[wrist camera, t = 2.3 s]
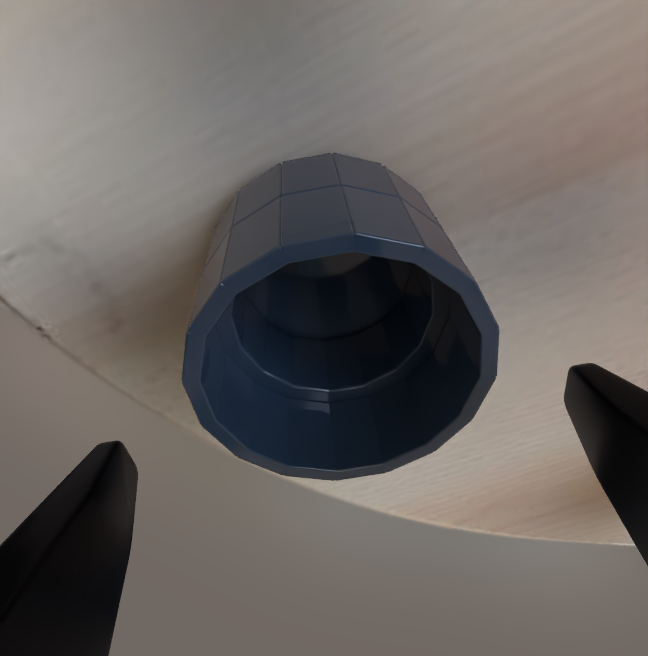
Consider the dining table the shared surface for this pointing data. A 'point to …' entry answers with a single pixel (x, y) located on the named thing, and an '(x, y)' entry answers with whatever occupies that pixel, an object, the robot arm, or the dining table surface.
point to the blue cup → (335, 324)
